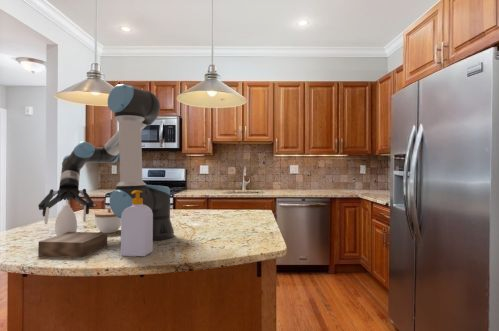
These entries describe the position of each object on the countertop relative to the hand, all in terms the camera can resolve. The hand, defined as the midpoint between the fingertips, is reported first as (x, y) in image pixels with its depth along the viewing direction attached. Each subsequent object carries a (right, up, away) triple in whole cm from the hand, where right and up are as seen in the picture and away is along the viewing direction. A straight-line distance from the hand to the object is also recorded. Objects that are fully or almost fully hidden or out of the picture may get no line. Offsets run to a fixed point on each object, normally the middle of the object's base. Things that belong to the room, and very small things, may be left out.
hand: (65, 221), depth 123 cm
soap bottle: (+35, -9, -16) cm, 40 cm away
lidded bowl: (+7, -9, +22) cm, 25 cm away
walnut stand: (+10, -9, -11) cm, 18 cm away
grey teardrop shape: (-1, -9, +2) cm, 9 cm away
